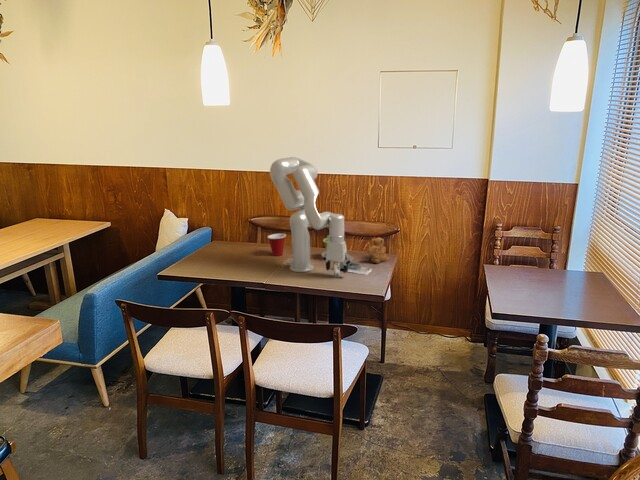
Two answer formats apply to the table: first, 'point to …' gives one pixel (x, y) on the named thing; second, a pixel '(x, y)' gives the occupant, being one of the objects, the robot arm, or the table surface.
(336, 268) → the steel pin
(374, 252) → the teddy bear
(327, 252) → the robot arm
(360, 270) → the gray white flat block
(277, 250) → the plastic cup
